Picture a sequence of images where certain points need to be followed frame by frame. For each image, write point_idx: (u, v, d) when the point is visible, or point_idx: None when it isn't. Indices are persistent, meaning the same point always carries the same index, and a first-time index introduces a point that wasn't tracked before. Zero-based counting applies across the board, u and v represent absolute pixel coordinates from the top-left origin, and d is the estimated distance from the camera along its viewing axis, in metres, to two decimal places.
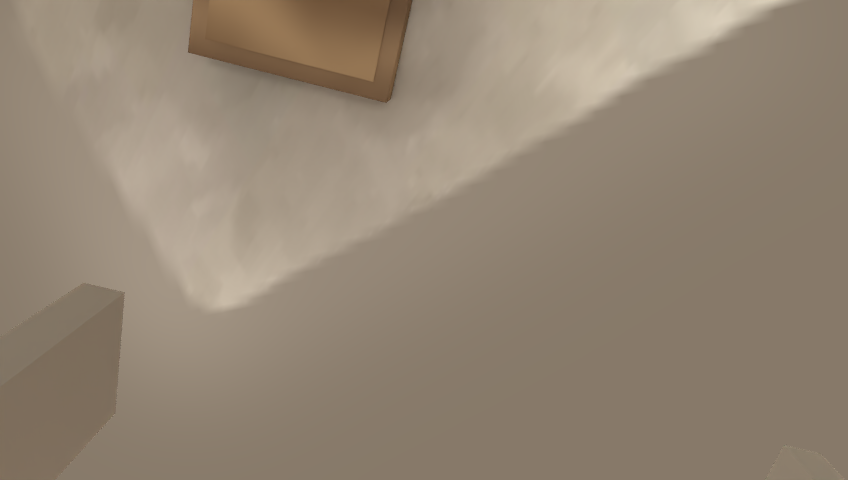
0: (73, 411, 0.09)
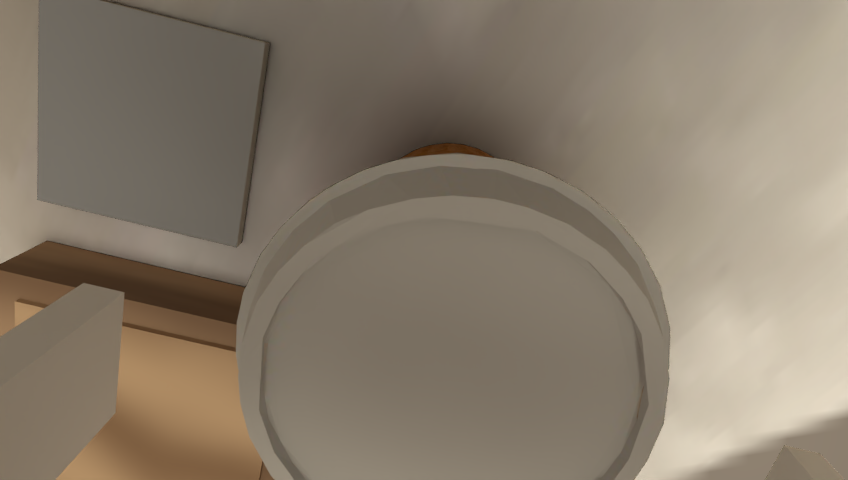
0: (73, 411, 0.09)
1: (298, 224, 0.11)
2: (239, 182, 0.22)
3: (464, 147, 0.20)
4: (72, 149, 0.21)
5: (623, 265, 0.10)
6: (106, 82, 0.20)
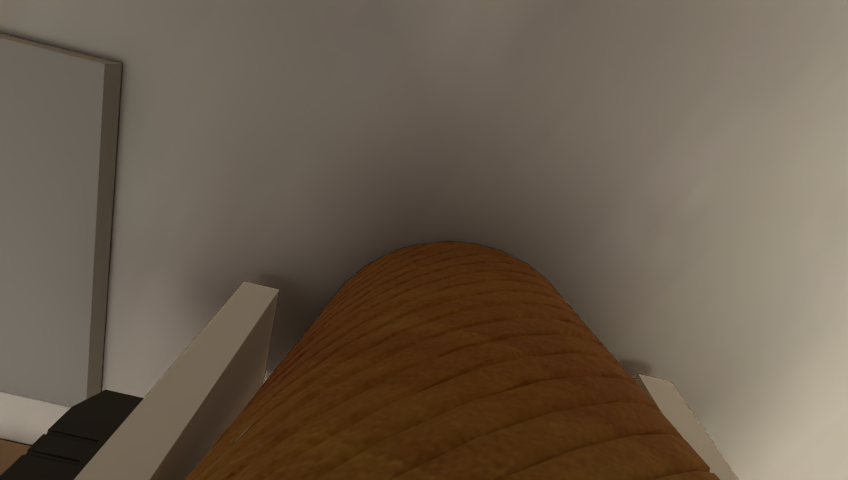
0: (246, 391, 0.11)
1: None
2: (80, 307, 0.12)
3: (479, 261, 0.11)
4: None
5: None
6: None
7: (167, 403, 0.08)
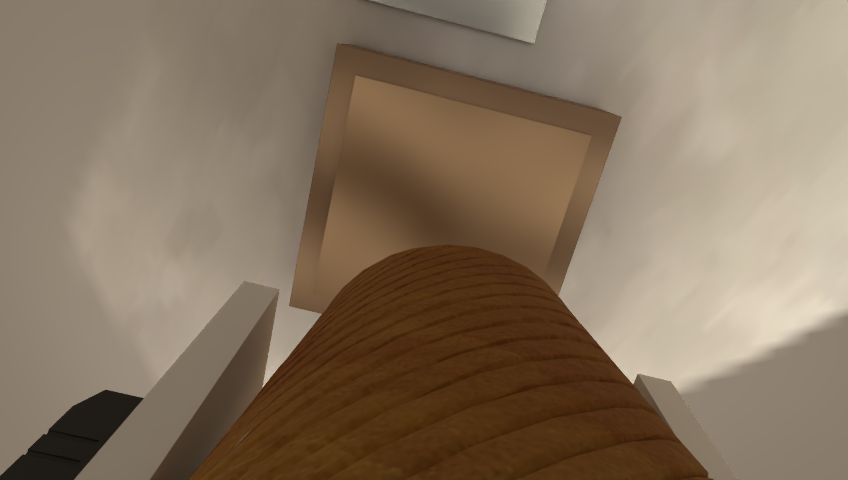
0: (247, 391, 0.11)
1: None
2: None
3: (478, 264, 0.11)
4: None
5: None
6: None
7: (167, 403, 0.08)
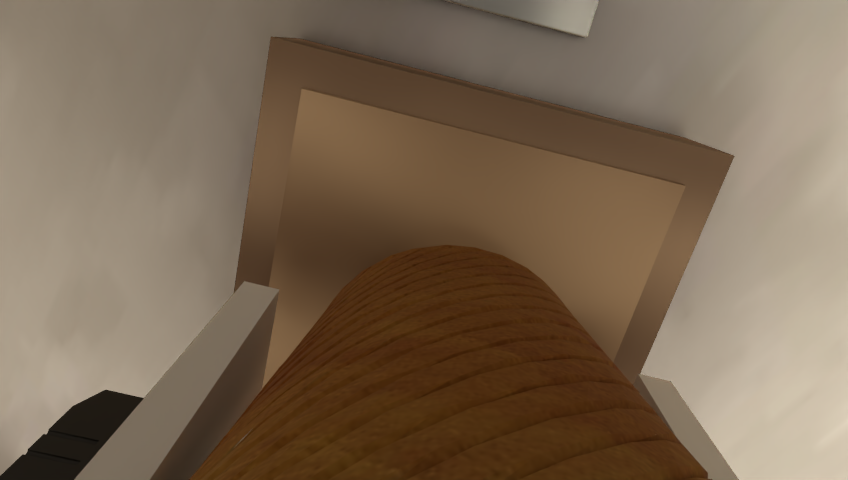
0: (246, 391, 0.11)
1: None
2: None
3: (478, 265, 0.11)
4: None
5: None
6: None
7: (167, 403, 0.08)
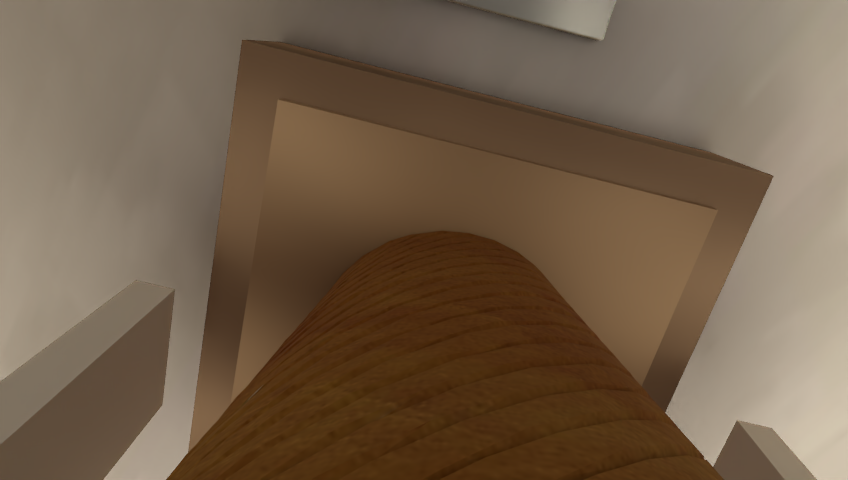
0: (130, 401, 0.10)
1: None
2: None
3: (471, 247, 0.11)
4: None
5: None
6: None
7: None
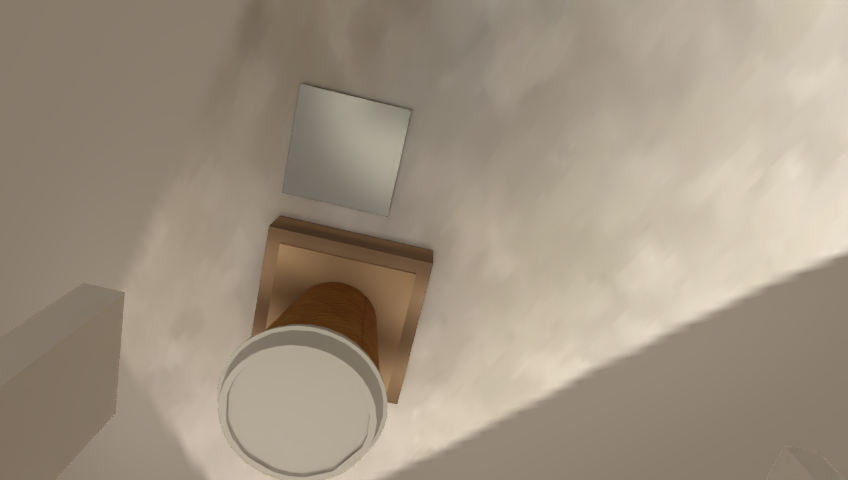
0: (73, 411, 0.09)
1: (240, 350, 0.30)
2: (391, 181, 0.41)
3: (336, 287, 0.39)
4: (305, 164, 0.41)
5: (352, 366, 0.29)
6: (327, 130, 0.40)
7: None
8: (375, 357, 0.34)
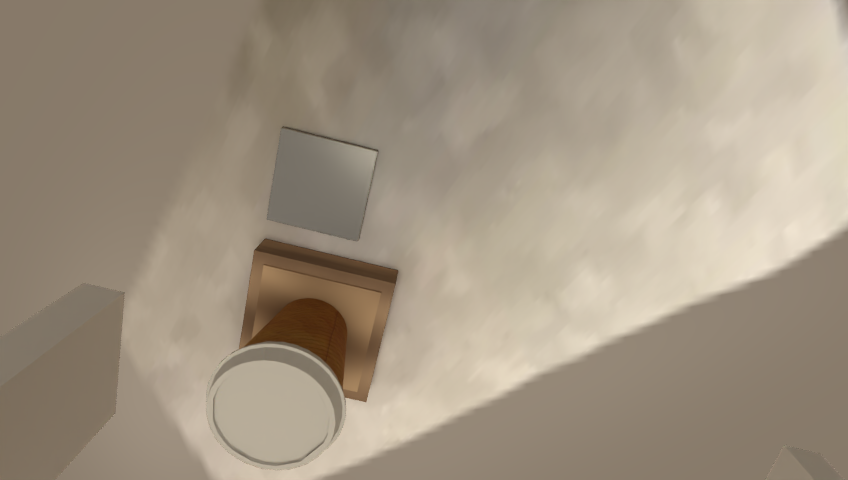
0: (73, 411, 0.09)
1: (224, 362, 0.37)
2: (361, 211, 0.47)
3: (311, 304, 0.46)
4: (286, 196, 0.47)
5: (314, 378, 0.36)
6: (305, 167, 0.46)
7: None
8: (338, 367, 0.40)
